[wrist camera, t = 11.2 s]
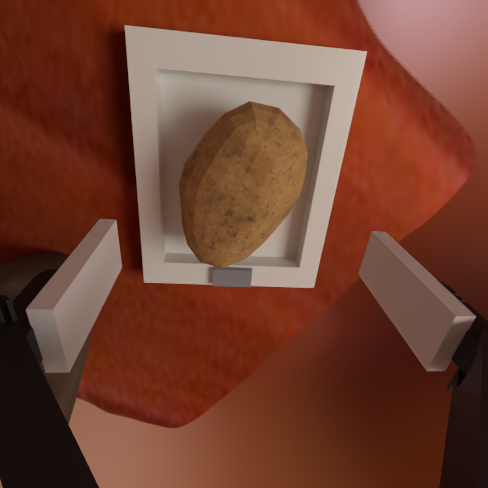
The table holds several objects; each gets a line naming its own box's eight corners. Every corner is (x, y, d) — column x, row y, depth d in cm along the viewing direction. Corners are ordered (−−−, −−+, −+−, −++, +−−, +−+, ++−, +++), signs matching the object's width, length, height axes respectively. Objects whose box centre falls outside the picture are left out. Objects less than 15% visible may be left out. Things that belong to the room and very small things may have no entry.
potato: (163, 221, 31) (146, 261, 24) (217, 77, 26) (216, 74, 19) (251, 253, 34) (258, 299, 26) (317, 128, 28) (350, 144, 21)
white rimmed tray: (133, 30, 24) (122, 23, 21) (354, 54, 26) (370, 50, 23) (149, 269, 34) (142, 285, 31) (308, 275, 36) (315, 291, 33)
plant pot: (67, 351, 39) (-21, 504, 25) (-48, 273, 33) (-253, 416, 19) (155, 289, 35) (110, 426, 21) (43, 189, 29) (-122, 287, 15)
